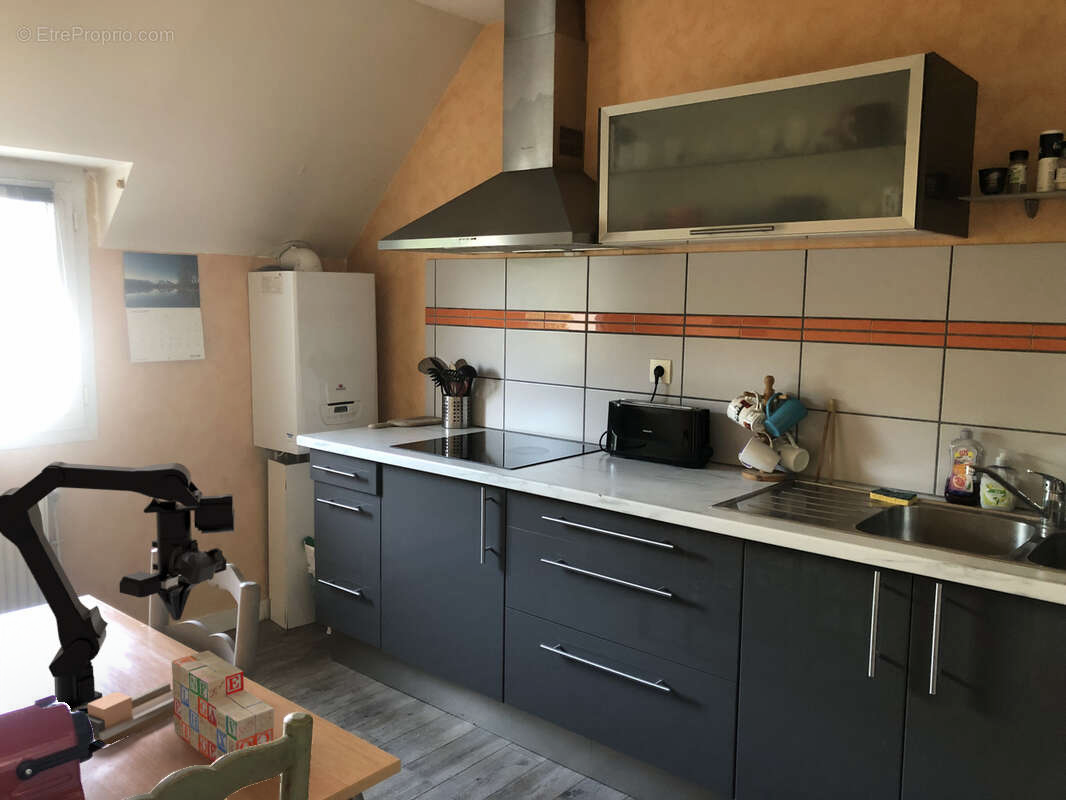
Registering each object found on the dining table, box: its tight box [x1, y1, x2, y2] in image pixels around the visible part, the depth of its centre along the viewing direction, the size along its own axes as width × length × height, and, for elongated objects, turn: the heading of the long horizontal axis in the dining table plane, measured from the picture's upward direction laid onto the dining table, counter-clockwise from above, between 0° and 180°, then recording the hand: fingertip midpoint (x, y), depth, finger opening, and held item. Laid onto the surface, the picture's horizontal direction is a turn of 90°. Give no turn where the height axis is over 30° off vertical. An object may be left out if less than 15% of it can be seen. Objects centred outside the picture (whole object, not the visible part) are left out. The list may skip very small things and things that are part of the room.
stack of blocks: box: [171, 650, 275, 762], centre depth 134 cm, size 21×6×12 cm, turn 46°
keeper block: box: [87, 691, 133, 730], centre depth 138 cm, size 4×5×4 cm
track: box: [85, 682, 174, 744], centre depth 142 cm, size 7×17×4 cm, turn 152°
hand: (176, 619), depth 153 cm, fingers closed
